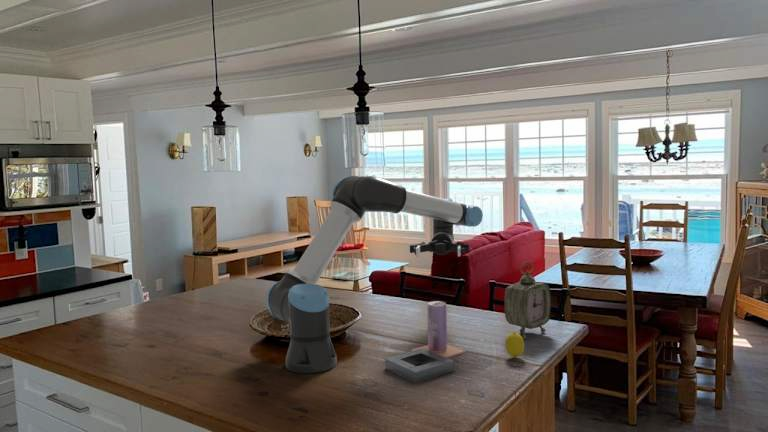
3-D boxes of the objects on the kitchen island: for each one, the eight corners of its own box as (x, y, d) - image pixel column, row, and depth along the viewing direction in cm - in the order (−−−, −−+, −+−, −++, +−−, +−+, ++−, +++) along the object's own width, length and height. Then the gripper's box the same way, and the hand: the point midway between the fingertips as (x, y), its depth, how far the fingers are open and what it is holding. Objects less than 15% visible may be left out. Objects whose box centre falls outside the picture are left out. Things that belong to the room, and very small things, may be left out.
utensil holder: (269, 337, 194) (267, 304, 193) (276, 332, 200) (275, 299, 199) (284, 338, 192) (283, 304, 191) (292, 333, 198) (290, 300, 197)
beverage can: (450, 348, 175) (449, 302, 173) (442, 354, 170) (441, 306, 168) (433, 346, 178) (432, 300, 177) (424, 351, 173) (423, 304, 172)
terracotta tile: (435, 361, 165) (435, 359, 165) (410, 351, 175) (410, 349, 175) (465, 352, 172) (465, 350, 172) (439, 343, 182) (439, 341, 182)
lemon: (511, 362, 163) (510, 335, 162) (502, 356, 168) (501, 330, 168) (527, 360, 165) (527, 333, 164) (518, 354, 170) (518, 328, 169)
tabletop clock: (524, 342, 181) (524, 266, 179) (502, 336, 188) (502, 263, 186) (550, 332, 190) (550, 260, 188) (528, 327, 197) (528, 257, 195)
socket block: (415, 383, 149) (415, 372, 149) (385, 368, 161) (385, 358, 161) (454, 370, 158) (453, 360, 157) (422, 357, 169) (422, 348, 169)
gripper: (476, 253, 200) (476, 263, 179) (407, 253, 204) (400, 263, 183) (476, 232, 199) (476, 240, 178) (407, 233, 203) (399, 241, 182)
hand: (437, 252), depth 181 cm, fingers open, 13 cm apart
